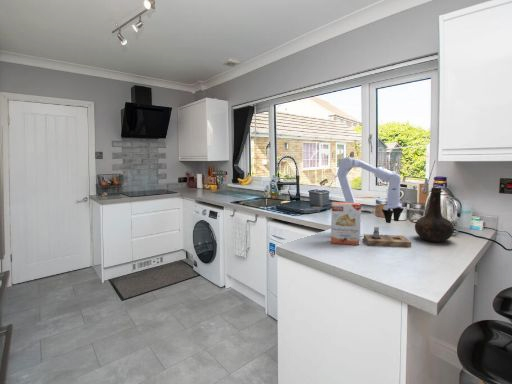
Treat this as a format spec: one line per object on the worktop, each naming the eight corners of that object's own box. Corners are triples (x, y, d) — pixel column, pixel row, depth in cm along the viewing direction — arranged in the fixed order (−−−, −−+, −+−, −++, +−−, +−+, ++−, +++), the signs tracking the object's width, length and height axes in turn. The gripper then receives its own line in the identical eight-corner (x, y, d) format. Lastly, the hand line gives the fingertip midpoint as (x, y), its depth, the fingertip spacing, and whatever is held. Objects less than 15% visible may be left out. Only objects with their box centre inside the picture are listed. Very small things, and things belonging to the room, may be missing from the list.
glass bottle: (433, 246, 143) (437, 190, 140) (406, 236, 160) (409, 186, 157) (461, 243, 148) (466, 188, 144) (432, 234, 165) (435, 185, 162)
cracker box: (330, 243, 148) (331, 203, 146) (330, 240, 154) (331, 201, 152) (359, 245, 145) (361, 204, 143) (358, 242, 151) (359, 202, 148)
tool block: (368, 245, 145) (368, 240, 145) (363, 238, 157) (363, 234, 156) (411, 247, 142) (411, 242, 142) (402, 240, 154) (403, 235, 153)
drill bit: (373, 243, 149) (374, 227, 148) (372, 241, 152) (373, 226, 151) (379, 243, 149) (380, 228, 148) (378, 241, 151) (378, 226, 150)
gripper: (393, 198, 145) (391, 225, 147) (408, 196, 153) (406, 221, 155) (380, 197, 151) (378, 222, 152) (395, 194, 159) (394, 219, 160)
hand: (392, 221), depth 154 cm, fingers open, 7 cm apart
